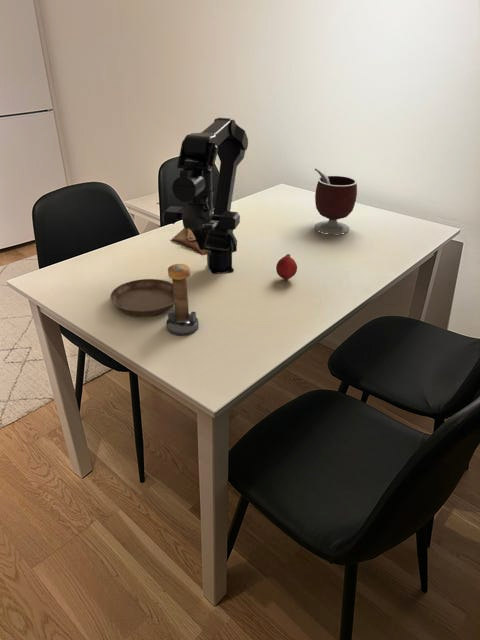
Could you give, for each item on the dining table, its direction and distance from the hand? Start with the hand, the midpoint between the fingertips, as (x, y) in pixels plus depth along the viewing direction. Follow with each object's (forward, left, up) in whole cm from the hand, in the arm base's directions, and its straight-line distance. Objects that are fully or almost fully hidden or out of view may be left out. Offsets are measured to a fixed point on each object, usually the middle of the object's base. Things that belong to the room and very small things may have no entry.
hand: (202, 249), depth 128 cm
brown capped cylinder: (+9, +17, -10) cm, 22 cm away
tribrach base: (+9, +17, -12) cm, 23 cm away
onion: (-24, 0, -12) cm, 27 cm away
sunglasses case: (-5, -32, -13) cm, 35 cm away
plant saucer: (+16, +3, -12) cm, 20 cm away
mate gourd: (-54, -34, -12) cm, 65 cm away
